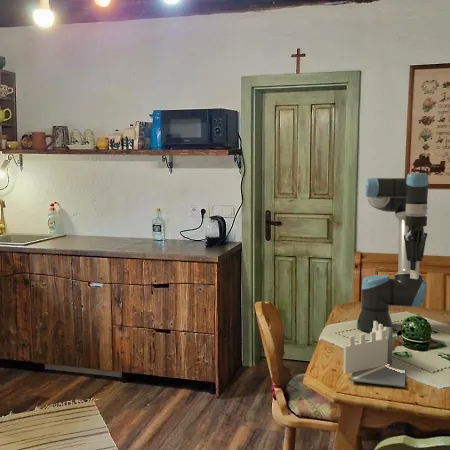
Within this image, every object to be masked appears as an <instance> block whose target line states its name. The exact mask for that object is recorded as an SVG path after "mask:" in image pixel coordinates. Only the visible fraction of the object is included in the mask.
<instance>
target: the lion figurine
mask: <svg viewBox="0 0 450 450" xmlns="http://www.w3.org/2000/svg"><path fill="white" fill-rule="evenodd" d="M402 336H403V335H397V337H394V338H393V340H392V351H394V349H395V348H396V347H400V346H401V347H402V346H405V345H404V341H403V338H404V337H403V338H402Z"/></svg>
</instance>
